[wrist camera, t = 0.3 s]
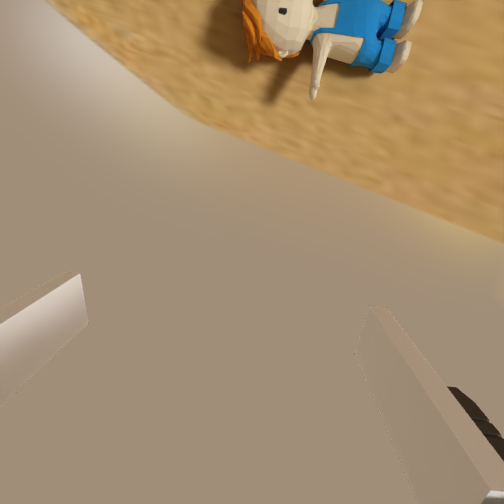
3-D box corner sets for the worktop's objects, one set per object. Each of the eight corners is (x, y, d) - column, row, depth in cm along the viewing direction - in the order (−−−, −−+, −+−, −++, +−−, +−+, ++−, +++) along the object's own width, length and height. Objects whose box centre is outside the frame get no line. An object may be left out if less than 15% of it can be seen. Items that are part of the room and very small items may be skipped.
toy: (401, 102, 21) (224, 68, 21) (369, 122, 27) (231, 96, 27) (450, -73, 19) (249, -116, 18) (403, -9, 25) (251, -40, 24)
